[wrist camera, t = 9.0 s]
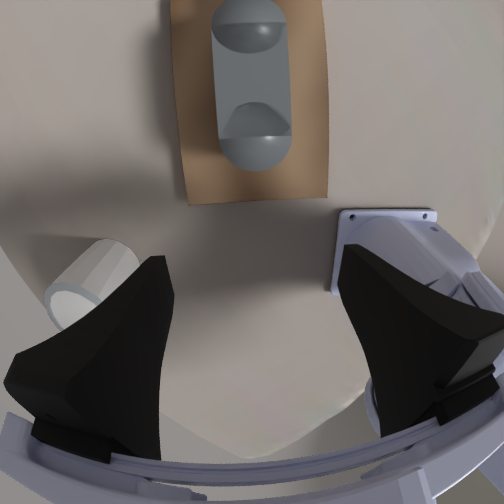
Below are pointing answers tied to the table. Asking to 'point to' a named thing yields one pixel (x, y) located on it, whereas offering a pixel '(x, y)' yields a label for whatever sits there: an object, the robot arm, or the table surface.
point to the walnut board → (205, 114)
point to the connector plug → (252, 83)
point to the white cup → (89, 281)
